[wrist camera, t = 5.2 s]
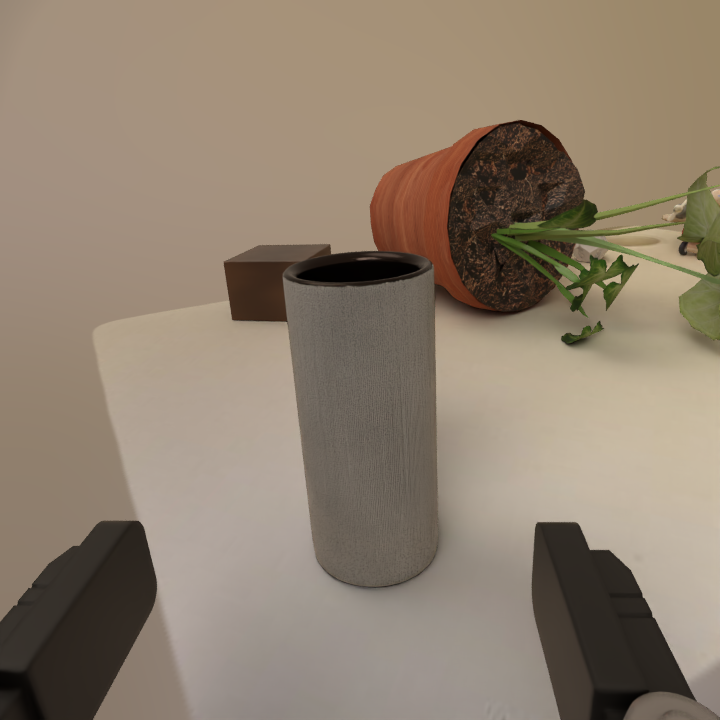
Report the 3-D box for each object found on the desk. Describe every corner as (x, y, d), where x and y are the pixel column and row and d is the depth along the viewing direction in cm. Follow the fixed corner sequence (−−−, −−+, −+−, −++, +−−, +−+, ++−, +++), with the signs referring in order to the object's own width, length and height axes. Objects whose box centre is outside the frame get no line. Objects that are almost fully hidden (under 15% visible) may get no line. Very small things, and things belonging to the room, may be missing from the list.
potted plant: (351, 319, 52) (800, 436, 24) (339, 141, 48) (866, 20, 19) (477, 295, 60) (927, 361, 31) (476, 141, 56) (993, 55, 27)
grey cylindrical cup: (456, 524, 22) (455, 252, 18) (406, 607, 18) (392, 288, 14) (352, 495, 24) (332, 248, 20) (289, 565, 20) (250, 278, 16)
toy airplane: (680, 261, 58) (690, 195, 55) (656, 244, 66) (663, 186, 64) (782, 259, 56) (796, 191, 54) (744, 242, 64) (755, 182, 62)
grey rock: (563, 260, 61) (565, 232, 60) (583, 255, 63) (586, 227, 62) (593, 265, 58) (595, 235, 57) (613, 259, 60) (616, 230, 59)
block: (232, 320, 48) (223, 261, 47) (265, 297, 55) (258, 245, 53) (309, 321, 47) (303, 260, 45) (334, 298, 53) (330, 244, 51)
